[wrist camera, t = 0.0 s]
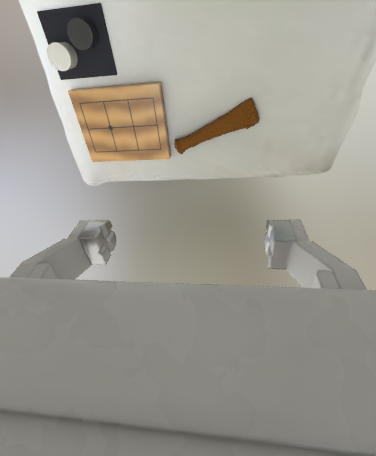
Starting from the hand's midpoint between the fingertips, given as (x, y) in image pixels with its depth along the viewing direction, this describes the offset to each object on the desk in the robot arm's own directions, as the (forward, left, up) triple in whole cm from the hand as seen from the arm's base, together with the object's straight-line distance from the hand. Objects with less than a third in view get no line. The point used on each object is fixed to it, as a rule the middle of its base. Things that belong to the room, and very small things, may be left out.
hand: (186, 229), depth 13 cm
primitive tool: (+9, 0, -48) cm, 49 cm away
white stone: (-6, -30, -48) cm, 56 cm away
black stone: (-9, -24, -48) cm, 54 cm away
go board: (+8, -21, -48) cm, 53 cm away
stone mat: (-8, -26, -48) cm, 55 cm away
